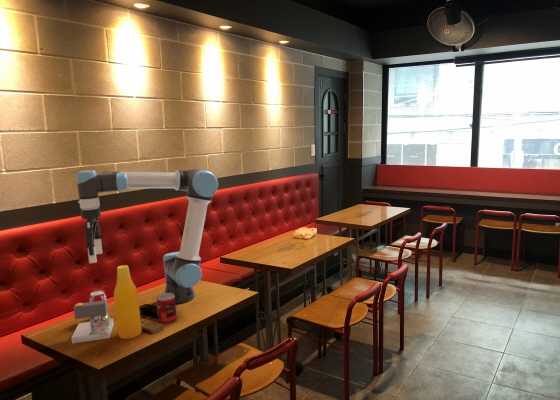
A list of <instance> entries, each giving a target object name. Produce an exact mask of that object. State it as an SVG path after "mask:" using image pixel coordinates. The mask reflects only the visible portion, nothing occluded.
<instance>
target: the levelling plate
mask: <svg viewBox="0 0 560 400" xmlns="http://www.w3.org/2000/svg"><path fill="white" fill-rule="evenodd" d="M114 324H115V323H114V318H111V316H109V313H108V314H106V315H105V316H104V318H103V320H99V321H96V320H95V327H94V328H91V326H90V321H86V322H78V324H77V326H76V328H75V330H74V332H73V333H72V335H71V344H78V343H84V342H93V341H100V340H107V339H110V336H111V333H112V330H113V327H114Z"/></svg>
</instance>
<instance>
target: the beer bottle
mask: <svg viewBox="0 0 560 400" xmlns="http://www.w3.org/2000/svg"><path fill="white" fill-rule="evenodd" d="M138 294H139V293H138V289H137V286H136V285H135V283H134V282H133V280H132V276H131V273H130V268H129V265H127V264H124V265H123V264H122V265H118V266H117V268H116V284H115V287H114V291H113V299H114V300H113V301H114V307H115V316H116V317H115V318H116V323H117V324H116V325H117V334H118V337H119V338H120V339H124V340H130V339H135V338H137V337H139V336H140V335H141V334H142V329H143V328H142V322H141V313H140V303H139V295H138Z"/></svg>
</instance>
